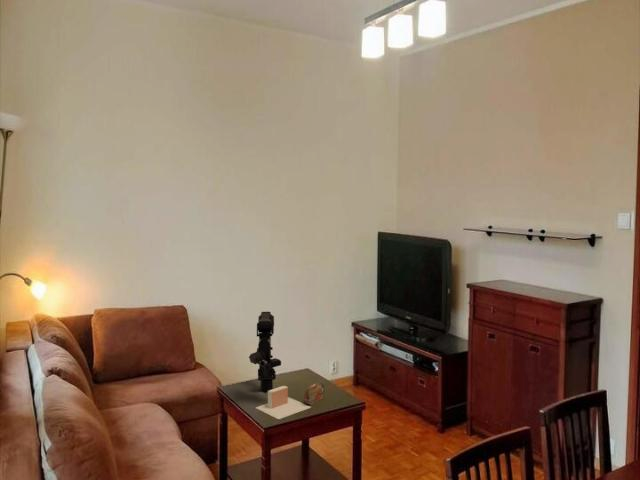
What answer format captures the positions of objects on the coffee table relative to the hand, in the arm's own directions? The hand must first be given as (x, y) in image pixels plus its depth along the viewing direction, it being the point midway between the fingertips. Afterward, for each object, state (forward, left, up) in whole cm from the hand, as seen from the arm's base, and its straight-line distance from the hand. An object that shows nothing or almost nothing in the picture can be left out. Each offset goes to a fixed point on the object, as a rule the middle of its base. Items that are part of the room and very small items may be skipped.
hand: (265, 376), depth 264 cm
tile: (+10, 0, -12) cm, 15 cm away
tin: (+18, +16, -12) cm, 27 cm away
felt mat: (+14, 0, -12) cm, 18 cm away
